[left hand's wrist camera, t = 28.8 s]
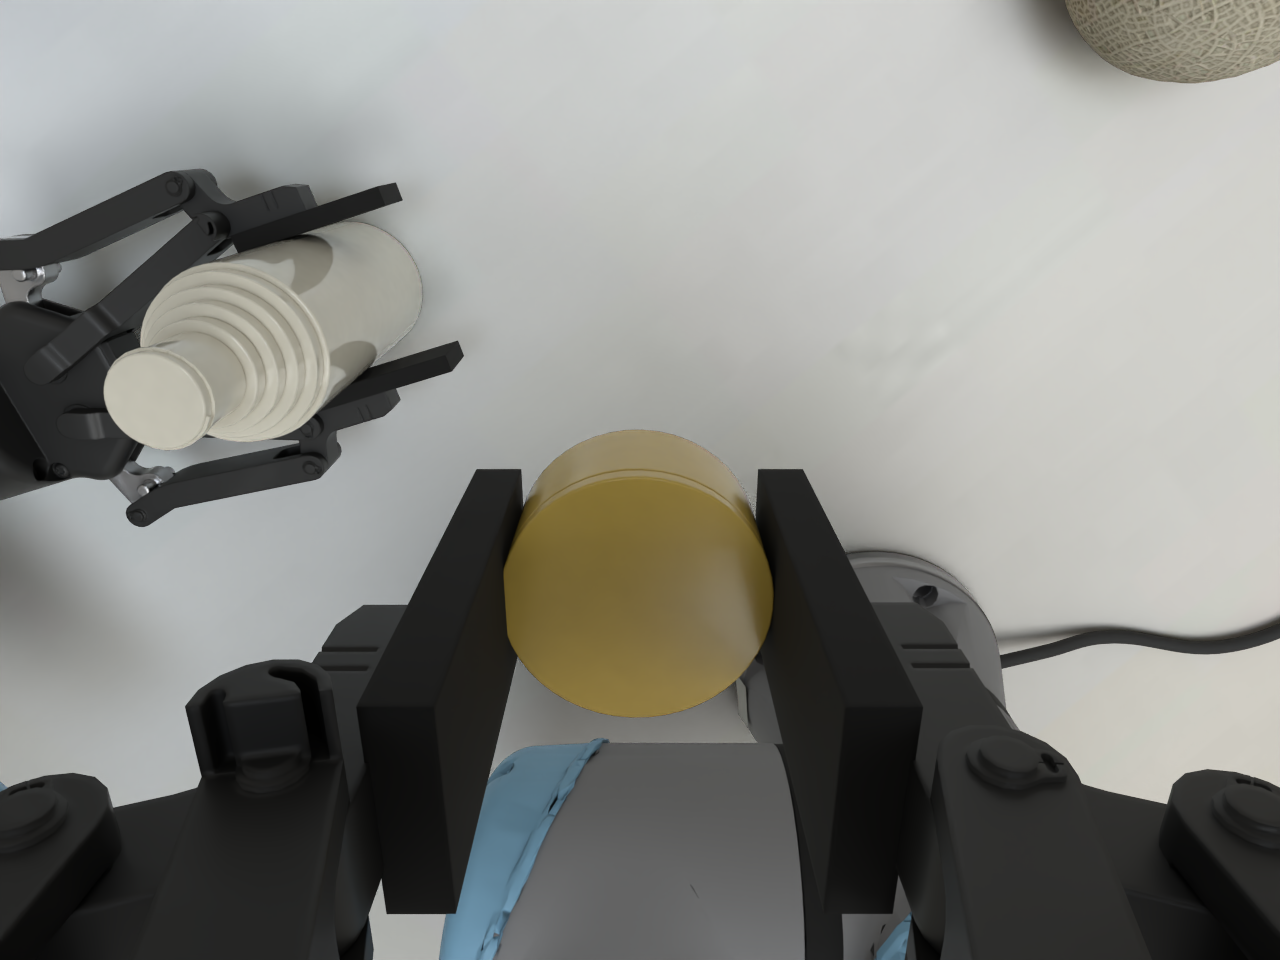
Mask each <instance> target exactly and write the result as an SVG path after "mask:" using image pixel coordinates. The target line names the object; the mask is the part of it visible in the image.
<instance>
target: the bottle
mask: <svg viewBox="0 0 1280 960" xmlns="http://www.w3.org/2000/svg"><path fill="white" fill-rule="evenodd" d="M422 295H423V292H422V283H421V278H420V275H419V272H418V269H417V266H416V264H415V263H414V261H413V259H412V257H411V256H410V254H409V253H408V251H407V250H406V249H405V248H404V247H403V245H402V244H401V243H400V242H398V241H397V240H396V239H395V238H394V237H392V236H391V235H390V234H388V233H387V232H385V231H383V230H381V229H379V228H377V227H374V226H372V225H368V224H365V223H359V222H342V223H336V224H333V225H329V226H326V227H323V228H319V229H316V230H313V231H310V232H306V233H303V234H300V235H297V236H293V237H290V238H287V239H284V240H280V241H277V242H274V243H270V244H267V245H264V246H260V247H257V248H254V249H250V250H247V251H244V252H241V253H237V254H234V255H231V256H227V257H224V258H221V259H218V260H214V261H211V262H208V263H204V264H201V265H198V266H195V267H192V268H190V269H187V270H185V271H183V272H181V273H180V274H178V275H177V276H175V277H174V278H172V279H171V280H170V281H169V282H168V283H167V284H166V285H165V286H164V287H163V288H162V289H161V291H160V292H159V293H158V295H157V296H156V297H155V299H154V300H153V301H152V302H151V304H150V306H149V308H148V310H147V312H146V315H145V317H144V320H143V324H142V329H141V339H140V345H141V347H140V348H137V349H134V350H131V351H128V352H126V353H124V354H123V355H122V356H120V357H119V358H118V359H117V360H115V361H114V363H113V365H112V366H111V368H110V369H109V371H108V373H107V376H106V379H105V383H104V400H105V404H106V407H107V410H108V412H109V414H110V416H111V417H112V419H113V420H114V422H115V423H116V424H117V426H118V427H119V428H120V429H121V430H122V431H123V432H124V433H125V434H127V435H128V436H129V437H131V438H132V439H134V440H136V441H138V442H139V443H142V444H144V445H147V446H149V447H151V448H155V449H161V450H179V449H182V448H185V447H188V446H190V445H192V444H193V443H194V442H196V441H197V440H199V439H200V438H202V437H203V436H204V435H206V434H208V435H211V436H213V437H216V438H220V439H224V440H228V441H236V442H254V441H262V440H267V439H273V438H277V437H281V436H284V435H286V434H288V433H291V432H293V431H294V430H296V429H298V428H300V427H301V426H302V425H304V424H305V423H306V422H307V421H308V420H310V419H311V418H312V417H313V416H314V415H315V414H316V413H318V412H319V411H320V410H321V409H322V408H323V407H324V406H326V405H327V404H328V403H329V402H330V401H331V400H332V399H334V398H335V397H336V396H337V395H338V394H339V393H340V392H342V391H343V390H344V389H345V388H346V387H347V386H348V385H350V384H351V383H352V382H353V381H354V380H355V379H356V378H358V377H359V376H360V375H361V374H362V373H363V372H364V371H366V370H367V369H368V368H369V367H370V366H371V365H372V364H374V363H375V362H376V361H377V360H378V359H379V358H380V357H382V356H383V355H384V354H385V353H386V352H387V351H388V350H390V349H391V348H392V347H393V346H394V345H395V344H396V343H398V342H399V341H400V340H401V339H402V338H403V337H404V336H406V335H407V333H408V332H409V331H410V330H411V329H412V327H413V326H414V324H415V323H416V320H417V318H418V316H419V313H420V310H421V305H422Z"/></svg>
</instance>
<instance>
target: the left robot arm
mask: <svg viewBox="0 0 1280 960" xmlns="http://www.w3.org/2000/svg"><path fill="white" fill-rule="evenodd" d="M522 509H523V494H522V476H521V469H477V470H476V472H475V474H474V475H473V477H472V479H471V481H470V483H469V485H468V487H467V489H466V491H465V493H464V495H463V497H462V499H461V501H460V503H459V505H458V507H457V509H456V511H455V513H454V515H453V517H452V519H451V521H450V523H449V525H448V527H447V529H446V531H445V533H444V535H443V537H442V539H441V541H440V543H439V544H438V546H437V548H436V550H435V552H434V554H433V556H432V558H431V560H430V562H429V564H428V566H427V568H426V570H425V572H424V574H423V576H422V578H421V580H420V582H419V584H418V586H417V588H416V590H415V592H414V594H413V596H412V598H411V600H410V602H409V604H408V605H363V606H362V607H360V608H359V609H357V610H356V611H355V612H353V613H352V614H350V615H349V616H348V617H346V618H345V619H343V620H342V621H341V622H339V623H338V624H336V626H335V628H334V629H333V631H332V632H331V634H330V635H329V637H328V639H327V640H326V642H325V643H324V645H323V646H322V652H319V653H318V654H317V656H316V657H315V659H314V661H313V662H312V663H309V662H306V661H302V660H269V661H264V662H259V663H255V664H250V665H245V666H243V667H240V668H238V669H235V670H233V671H230V672H228V673H225V674H223V675H220V676H219V677H217V678H216V679H214V680H213V681H211V682H210V683H208V684H207V685H205V686H204V687H202V688H201V689H199V690H198V691H197V692H196V694H195V695H194V696H193V697H192V698H191V700H190V701H189V702H188V703H187V705H186V706H185V708H186V713H187V717H188V721H189V725H190V730H191V734H192V738H193V742H194V746H195V751H196V755H197V759H198V763H199V767H200V772H201V776H202V778H201V780H200V783H199V785H198V787H197V788H195V789H191V790H188V791H184V792H181V793H177V794H174V795H170V796H165V797H161V798H156V799H151V800H147V801H142V802H138V803H133V804H129V805H124V806H119V807H115V808H113V806H112V802H111V799H110V795H109V792H108V788H107V787H106V786H105V785H103V784H102V783H101V782H100V781H99V780H98V779H97V778H95V777H92V776H87V775H81V774H76V773H68V774H58V775H48V776H42V777H39V778H36V779H31V780H29V781H25V782H22V783H19V784H16V785H13V786H11V787H9V788H7V789H5V790H3V791H1V792H0V960H373V950H374V949H373V942H372V935H371V928H370V922H369V916H368V914H369V912H370V909H371V906H372V903H373V900H374V897H375V895H376V892H377V889H378V886H379V883H380V880H381V879H382V885H383V892H384V899H385V906H386V912H387V914H446V918H445V923H444V928H443V934H442V941H441V948H440V956H439V960H1280V788H1279V787H1277V786H1275V785H1273V784H1271V783H1269V782H1267V781H1264V780H1261V779H1258V778H1255V777H1250V776H1248V775H1244V774H1240V773H1237V772H1229V771H1220V770H1210V769H1206V770H1201V771H1195V772H1190V773H1185V774H1184V775H1183V776H1182V777H1181V778H1180V779H1178V780H1177V781H1176V782H1175V783H1174V784H1173V786H1172V789H1171V793H1170V796H1169V800H1168V803H1167V804H1163V803H1158V802H1154V801H1149V800H1145V799H1140V798H1135V797H1131V796H1126V795H1122V794H1117V793H1112V792H1108V791H1104V790H1101V789H1097V788H1094V787H1090V786H1087V785H1084V784H1082V783H1081V781H1080V779H1079V776H1078V775H1077V773H1076V772H1075V770H1074V769H1073V767H1072V766H1071V764H1070V763H1069V762H1068V760H1067V759H1066V758H1065V757H1064V756H1063V755H1061V754H1060V753H1059V752H1057V751H1056V750H1055V749H1054V748H1052V747H1051V746H1050V745H1048V744H1047V743H1046V742H1043V741H1041V740H1039V739H1037V738H1035V737H1033V736H1030V735H1028V734H1026V733H1024V732H1022V731H1020V730H1019V729H1018V727H1017V726H1016V724H1015V723H1014V722H1013V720H1012V718H1011V717H1010V715H1009V714H1008V712H1007V710H1006V703H1005V695H1004V686H1003V678H1002V669H1003V668H1007V667H1011V666H1015V665H1020V664H1024V663H1028V662H1033V661H1037V660H1041V659H1045V658H1049V657H1053V656H1057V655H1060V654H1063V653H1066V652H1069V651H1072V650H1076V649H1079V648H1082V647H1086V646H1091V645H1097V644H1110V643H1121V644H1134V645H1141V646H1147V647H1153V648H1158V649H1163V650H1169V651H1174V652H1181V653H1190V654H1221V653H1228V652H1235V651H1239V650H1244V649H1248V648H1252V647H1256V646H1260V645H1263V644H1266V643H1269V642H1271V641H1274V640H1277V639H1279V638H1280V623H1279V624H1277V625H1275V626H1272V627H1270V628H1267V629H1264V630H1262V631H1259V632H1256V633H1253V634H1249V635H1245V636H1241V637H1237V638H1232V639H1227V640H1219V641H1205V642H1204V641H1186V640H1178V639H1172V638H1167V637H1161V636H1156V635H1151V634H1145V633H1139V632H1131V631H1113V630H1111V631H1096V632H1089V633H1084V634H1080V635H1076V636H1073V637H1069V638H1066V639H1063V640H1060V641H1057V642H1053V643H1050V644H1046V645H1042V646H1038V647H1034V648H1030V649H1025V650H1021V651H1017V652H1012V653H1008V654H1004V655H1000V654H999V649H998V644H997V641H996V637H995V634H994V631H993V629H992V626H991V624H990V622H989V621H988V619H987V617H986V615H985V614H984V612H983V611H982V610H981V608H980V607H979V605H978V604H977V603H976V601H975V600H974V598H973V597H972V596H971V594H970V593H969V592H968V591H967V590H966V588H965V587H964V586H963V585H962V584H961V583H960V582H959V581H957V580H956V579H955V578H954V577H953V576H951V575H950V574H948V573H947V572H945V571H944V570H942V569H940V568H939V567H937V566H935V565H933V564H931V563H928V562H926V561H924V560H921V559H918V558H915V557H911V556H907V555H902V554H897V553H889V552H859V553H852V554H845V552H844V550H843V548H842V546H841V544H840V542H839V540H838V538H837V536H836V534H835V532H834V530H833V528H832V526H831V524H830V522H829V520H828V518H827V516H826V514H825V512H824V510H823V508H822V506H821V504H820V502H819V500H818V498H817V496H816V494H815V492H814V490H813V488H812V486H811V485H810V483H809V481H808V479H807V477H806V475H805V473H804V471H803V469H758V484H757V502H756V520H755V521H756V524H757V527H758V530H759V534H760V537H761V540H762V543H763V546H764V550H765V553H766V556H767V559H768V563H769V566H770V570H771V574H772V578H773V587H774V606H773V614H772V619H771V624H770V627H769V630H768V633H767V636H766V639H765V641H764V643H763V645H762V647H761V649H760V651H759V653H758V654H757V656H756V657H755V658H754V660H753V661H752V663H751V664H750V666H749V667H748V668H747V669H746V670H745V671H744V672H743V674H742V675H741V676H740V677H739V678H738V679H737V680H736V681H735V682H736V688H737V698H738V714H739V716H740V717H741V719H742V720H743V722H744V723H745V725H746V726H747V728H749V730H750V731H751V733H752V735H753V736H754V738H755V739H756V741H757V742H758V743H610V742H609V740H608V739H603V738H598V739H594V740H593V741H591V742H590V743H583V744H564V745H546V746H531V747H526V748H523V749H520V750H518V751H516V752H514V753H513V754H511V755H510V756H508V757H507V758H506V759H504V760H503V761H502V762H501V763H500V765H499V766H498V767H497V768H496V769H495V771H494V772H493V773H492V775H491V776H490V778H489V774H490V769H491V765H492V761H493V757H494V753H495V749H496V744H497V740H498V736H499V732H500V728H501V723H502V719H503V715H504V711H505V707H506V703H507V698H508V694H509V690H510V686H511V682H512V678H513V673H514V669H515V665H516V661H517V657H518V656H517V654H516V652H515V650H514V649H513V647H512V645H511V643H510V641H509V638H508V634H507V621H506V606H505V591H504V574H503V568H504V565H505V562H506V559H507V556H508V553H509V549H510V546H511V543H512V540H513V537H514V534H515V531H516V528H517V525H518V522H519V519H520V515H521V512H522ZM488 778H489V780H488Z"/></svg>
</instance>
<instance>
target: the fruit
mask: <svg viewBox="0 0 1280 960" xmlns="http://www.w3.org/2000/svg"><path fill="white" fill-rule="evenodd" d="M1065 2H1066V7H1067V10H1068V12H1069V15H1070V17H1071V19H1072V21H1073V23H1074V25H1075V27H1076V29H1077V30H1078V31H1079V33H1080V34H1081V36H1082V37H1083V39H1084V40H1085V41H1086V42H1087V43H1088V45H1089V46H1090V47H1091V48H1092V49H1093V50H1094V51H1095V52H1096V53H1097V54H1098V55H1099V56H1100V57H1102V58H1103V59H1104V60H1106V61H1107V62H1109V63H1110V64H1112V65H1113V66H1115V67H1117V68H1119V69H1121V70H1123V71H1125V72H1127V73H1129V74H1131V75H1135V76H1139V77H1143V78H1147V79H1152V80H1157V81H1164V82H1178V83H1201V82H1210V81H1216V80H1220V79H1226V78H1231V77H1237V76H1239V75H1242V74H1245V73H1248V72H1250V71H1253V70H1256V69H1259V68H1262V67H1265V66H1268V65H1270V64H1273V63H1275V62H1277V61H1279V60H1280V0H1065Z"/></svg>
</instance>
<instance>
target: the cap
mask: <svg viewBox="0 0 1280 960" xmlns="http://www.w3.org/2000/svg"><path fill="white" fill-rule="evenodd" d="M503 574H504V591H505V606H506V621H507V634H508V638H509V641H510V643H511V645H512V647H513V649H514V650H515V652H516V654H517V656H518V657H519V659H520V660H521V662H522V663H523V664H524V665H525V667H526V668H527V669H528V671H529V672H530V673H531V674H532V675H533V676H534V677H535V678H536V679H537V680H538V681H539V682H540V683H542V684H543V685H544V686H546V687H547V688H548V689H549V690H551V691H552V692H553V693H555V694H557V695H558V696H560V697H562V698H563V699H565V700H567V701H569V702H571V703H573V704H576V705H578V706H580V707H582V708H585V709H588V710H592V711H595V712H598V713H602V714H607V715H612V716H620V717H654V716H661V715H667V714H671V713H676V712H680V711H683V710H686V709H689V708H691V707H694V706H697V705H699V704H701V703H703V702H705V701H707V700H709V699H711V698H713V697H714V696H716V695H717V694H719V693H720V692H722V691H723V690H725V689H726V688H727V687H729V686H730V685H731V684H732V683H733V682H734V681H736V680H737V679H738V678H739V677H740V676H741V675H742V674H743V672H744V671H745V670H746V669H747V668H748V667H749V666H750V664H751V663H752V661H753V660H754V658H755V657H756V656H757V654H758V653H759V651H760V649H761V647H762V645H763V643H764V641H765V639H766V636H767V633H768V630H769V627H770V624H771V619H772V614H773V606H774V587H773V578H772V574H771V570H770V566H769V563H768V559H767V556H766V553H765V550H764V546H763V543H762V540H761V537H760V534H759V530H758V527H757V524H756V521H755V518H754V514H753V511H752V508H751V505H750V503H749V500H748V498H747V496H746V493H745V491H744V489H743V488H742V486H741V485H740V483H739V481H738V480H737V478H736V477H735V476H734V475H733V473H732V472H731V471H730V470H729V469H728V467H727V466H726V465H724V464H723V463H722V462H721V461H720V460H719V459H718V458H717V457H716V456H714V455H713V454H711V453H710V452H709V451H707V450H706V449H704V448H703V447H701V446H699V445H697V444H695V443H693V442H691V441H689V440H687V439H684V438H681V437H678V436H676V435H672V434H668V433H663V432H659V431H650V430H623V431H616V432H610V433H606V434H603V435H599V436H595V437H593V438H590V439H588V440H586V441H583V442H581V443H579V444H577V445H575V446H574V447H572V448H570V449H569V450H567V451H565V452H564V453H563V454H562V455H560V456H559V457H558V458H556V459H555V460H554V461H553V462H552V463H551V464H550V465H549V466H548V467H547V468H546V469H545V470H544V471H543V472H542V474H541V475H540V476H539V478H538V479H537V480H536V482H535V483H534V485H533V487H532V489H531V490H530V492H529V494H528V496H527V498H526V501H525V504H524V507H523V509H522V512H521V515H520V519H519V522H518V525H517V528H516V531H515V534H514V537H513V540H512V543H511V546H510V549H509V553H508V556H507V559H506V562H505V565H504V568H503Z"/></svg>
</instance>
